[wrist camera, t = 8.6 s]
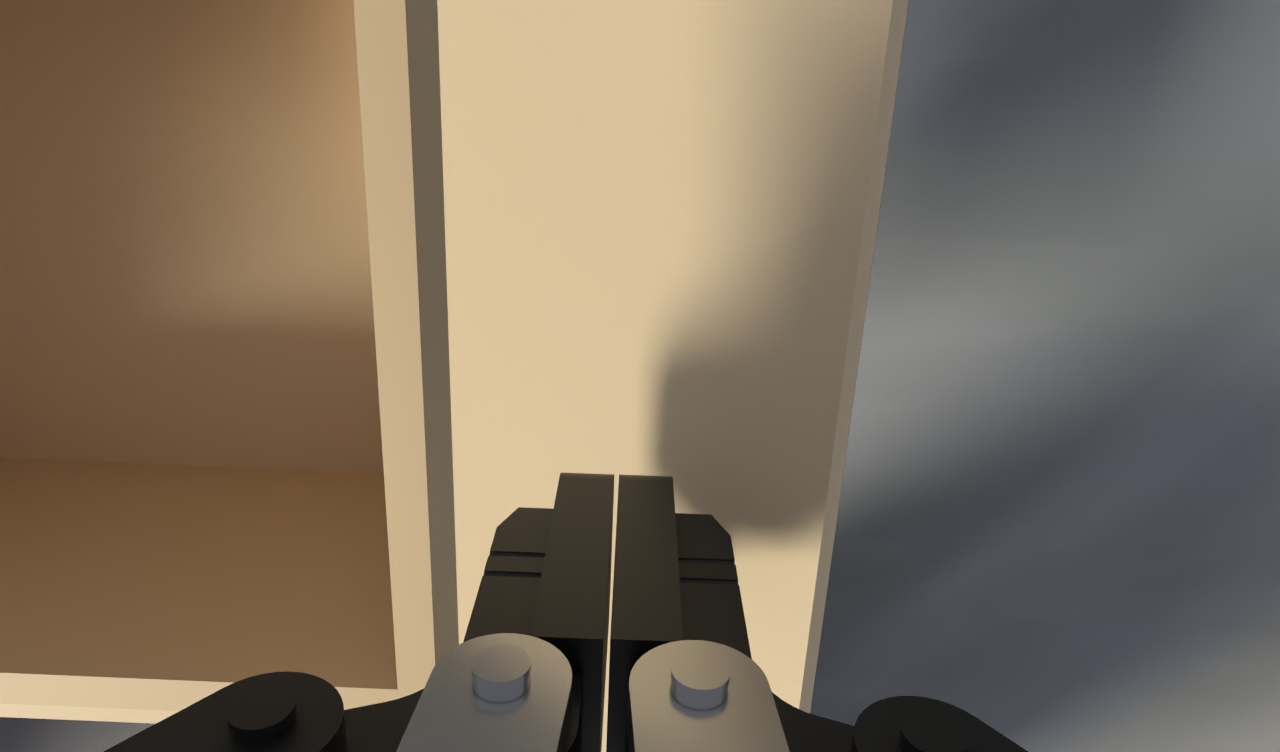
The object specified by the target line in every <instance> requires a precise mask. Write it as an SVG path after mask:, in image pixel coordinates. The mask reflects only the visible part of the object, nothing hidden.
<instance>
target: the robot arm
mask: <svg viewBox="0 0 1280 752" xmlns="http://www.w3.org/2000/svg"><path fill="white" fill-rule="evenodd" d="M613 504H614V474H590V473H564V472H561V473H560V477H559V482H558V488H557V493H556V498H555V504H554V509H550V508H524V507H518V508H517V509H516V510H515V511H514V512H513V513H512V514H511V515H510V516H509V517H507V518H506V519H505V520H504V521H503V522H502V523H501V524H500V525H499V526H497V528H496V532H495V535H494V538H493V542H492V545H491V549H490V556H488V559H487V562H486V566H485V569H484V576H482V579H481V583H480V586H479V590H478V593H477V596H476V600H475V603H474V607H473V610H472V614H471V617H470V620H469V624H468V627H467V631H466V634H465V637H464V641H463V643H461V644H459V645H457V646H456V647H454V648H452V649H451V650H450V651H448V652H447V653H446V654H445V655H443V656H442V657H441V659H440V660H439V661H438V662H437V663H436V665H435V667H434V668H433V670H432V672H431V674H430V676H429V679H428V681H427V683H426V685H425V688H424V689H422V690H420V691H417V692H415V693H413V694H411V695H408V696H405V697H402V698H399V699H395V700H391V701H387V702H382V703H377V704H372V705H367V706H362V707H357V708H352V709H347V710H344V705H343V701H342V698H341V695H340V694H339V692H338V691H337V689H336V688H335V687H334V686H333V685H332V684H330V683H329V682H327V681H326V680H324V679H322V678H320V677H317V676H314V675H311V674H307V673H302V672H290V671H287V672H272V673H265V674H260V675H256V676H252V677H248V678H246V679H243V680H240V681H237V682H235V683H233V684H230V685H228V686H226V687H224V688H222V689H220V690H218V691H216V692H215V693H213V694H211V695H209V696H207V697H205V698H203V699H201V700H200V701H198V702H196V703H194V704H192V705H190V706H188V707H186V708H185V709H183V710H181V711H179V712H177V713H175V714H173V715H171V716H170V717H168V718H166V719H164V720H162V721H160V722H158V723H156V724H155V725H153V726H151V727H149V728H147V729H145V730H143V731H141V732H140V733H138V734H136V735H134V736H132V737H130V738H128V739H126V740H125V741H123V742H121V743H119V744H117V745H115V746H113V747H111V748H110V749H108V750H106V751H104V752H601V750H602V733H603V715H604V698H605V681H606V664H607V646H608V629H609V610H610V587H611V560H612V532H613ZM606 752H1028V751H1026V750H1025V749H1023V748H1022V747H1020V746H1019V745H1017V744H1016V743H1014V742H1013V741H1011V740H1009V739H1008V738H1006V737H1005V736H1003V735H1002V734H1000V733H999V732H997V731H996V730H994V729H993V728H991V727H990V726H988V725H987V724H985V723H984V722H982V721H981V720H979V719H978V718H976V717H974V716H973V715H971V714H969V713H968V712H966V711H964V710H962V709H960V708H958V707H955V706H953V705H951V704H948V703H945V702H942V701H939V700H935V699H930V698H926V697H917V696H898V697H890V698H886V699H883V700H879V701H877V702H875V703H873V704H871V705H870V706H869V707H867V708H866V709H865V710H864V711H863V712H862V713H861V714H860V716H859V717H858V719H857V721H856V724H855V726H851V725H848V724H844V723H840V722H837V721H833V720H829V719H826V718H822V717H819V716H816V715H813V714H810V713H807V712H804V711H802V710H800V709H798V708H795V707H793V706H792V705H790V704H788V703H787V702H785V701H783V700H782V699H780V698H779V697H778V696H776V695H775V694H774V693H773V692H772V691H771V688H770V685H769V682H768V680H767V677H766V675H765V674H764V672H763V671H762V669H761V668H760V667H759V666H758V665H757V664H756V663H755V662H754V661H753V660H752V657H751V651H750V646H749V640H748V634H747V628H746V622H745V616H744V611H743V605H742V599H741V593H740V587H739V585H738V576H737V570H736V565H735V558H734V552H733V547H732V541H731V536H730V535H729V533H728V532H727V531H726V530H725V529H724V528H723V527H722V526H721V525H720V524H719V522H718V521H717V520H716V519H715V518H714V517H713V516H712V515H711V514H686V513H675V502H674V487H673V477H672V476H646V475H620V474H619V486H618V505H617V523H616V542H615V560H614V579H613V598H612V616H611V635H610V660H609V688H608V716H607V744H606Z"/></svg>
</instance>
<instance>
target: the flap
mask: <svg viewBox="0 0 1280 752" xmlns="http://www.w3.org/2000/svg"><path fill="white" fill-rule="evenodd" d="M908 3H909V0H437V8H438V38H439V67H440V97H441V127H442V157H443V186H444V216H445V246H446V276H447V305H448V335H449V365H450V395H451V424H452V454H453V484H454V514H455V543H456V573H457V603H458V633H459V644H461V643H463V641H464V637H465V634H466V631H467V627H468V624H469V620H470V617H471V614H472V610H473V607H474V603H475V600H476V596H477V593H478V590H479V586H480V583H481V579H482V576H484V569H485V566H486V562H487V559H488V556H490V549H491V545H492V542H493V538H494V535H495V532H496V528H497V526H499V525H500V524H501V523H502V522H503V521H504V520H505V519H506V518H507V517H509V516H510V515H511V514H512V513H513V512H514V511H515V510H516V509H517V508H518V507H524V508H550V509H554V504H555V498H556V493H557V488H558V482H559V477H560V473H561V472H564V473H590V474H614V504H613V532H612V560H611V587H610V610H609V629H608V646H607V664H606V681H605V698H604V715H603V733H602V750H601V752H606V744H607V716H608V688H609V660H610V635H611V616H612V598H613V579H614V560H615V542H616V523H617V505H618V486H619V474H620V475H646V476H672V477H673V487H674V502H675V513H686V514H711V515H712V516H713V517H714V518H715V519H716V520H717V521H718V522H719V524H720V525H721V526H722V527H723V528H724V529H725V530H726V531H727V532H728V533H729V535H730V536H731V541H732V547H733V552H734V558H735V565H736V570H737V576H738V585H739V587H740V593H741V599H742V605H743V611H744V616H745V622H746V628H747V634H748V640H749V646H750V651H751V657H752V660H753V661H754V662H755V663H756V664H757V665H758V666H759V667H760V668H761V669H762V671H763V672H764V674H765V675H766V677H767V680H768V682H769V685H770V688H771V691H772V692H773V693H774V694H775V695H776V696H778V697H779V698H780V699H782V700H783V701H785V702H787V703H788V704H790V705H792V706H793V707H795V708H798V709H800V710H802V711H804V712H807V713H810V711H811V704H812V697H813V689H814V682H815V675H816V668H817V660H818V653H819V646H820V639H821V632H822V624H823V617H824V610H825V603H826V595H827V588H828V581H829V574H830V566H831V559H832V552H833V545H834V538H835V530H836V523H837V516H838V509H839V501H840V494H841V487H842V480H843V473H844V465H845V458H846V451H847V444H848V436H849V429H850V422H851V415H852V408H853V400H854V393H855V386H856V379H857V371H858V364H859V357H860V350H861V342H862V335H863V328H864V321H865V314H866V306H867V299H868V292H869V285H870V277H871V270H872V263H873V256H874V249H875V241H876V234H877V227H878V220H879V212H880V205H881V198H882V191H883V184H884V176H885V169H886V162H887V155H888V147H889V140H890V133H891V126H892V118H893V111H894V104H895V97H896V90H897V82H898V75H899V68H900V61H901V53H902V46H903V39H904V32H905V25H906V17H907V10H908Z"/></svg>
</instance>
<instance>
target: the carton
mask: <svg viewBox="0 0 1280 752" xmlns="http://www.w3.org/2000/svg"><path fill="white" fill-rule="evenodd" d="M457 645H459V633H458V603H457V573H456V543H455V514H454V484H453V454H452V424H451V395H450V365H449V335H448V305H447V276H446V246H445V216H444V186H443V157H442V127H441V97H440V67H439V38H438V8H437V0H0V717H12V718H36V719H60V720H83V721H107V722H131V723H154V724H156V723H158V722H160V721H162V720H164V719H166V718H168V717H170V716H171V715H173V714H175V713H177V712H179V711H181V710H183V709H185V708H186V707H188V706H190V705H192V704H194V703H196V702H198V701H200V700H201V699H203V698H205V697H207V696H209V695H211V694H213V693H215V692H216V691H218V690H220V689H222V688H224V687H226V686H228V685H230V684H233V683H235V682H237V681H240V680H243V679H246V678H248V677H252V676H256V675H260V674H265V673H272V672H287V671H290V672H302V673H307V674H311V675H314V676H317V677H320V678H322V679H324V680H326V681H327V682H329V683H330V684H332V685H333V686H334V687H335V688H336V689H337V691H338V692H339V694H340V695H341V698H342V701H343V705H344V710H347V709H352V708H357V707H362V706H367V705H372V704H377V703H382V702H387V701H391V700H395V699H399V698H402V697H405V696H408V695H411V694H413V693H415V692H417V691H420V690H422V689H424V688H425V685H426V683H427V681H428V679H429V676H430V674H431V672H432V670H433V668H434V667H435V665H436V663H437V662H438V661H439V660H440V659H441V657H442V656H443V655H445V654H446V653H447V652H448V651H450V650H451V649H452V648H454V647H456V646H457Z"/></svg>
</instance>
